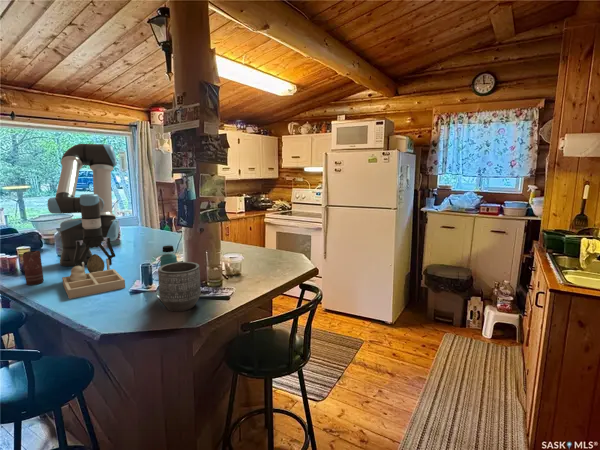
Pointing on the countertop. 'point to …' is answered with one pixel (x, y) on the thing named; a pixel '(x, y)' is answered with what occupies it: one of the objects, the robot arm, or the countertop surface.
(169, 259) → the beverage bottle
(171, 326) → the countertop surface
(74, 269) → the beige stacked dome figurine
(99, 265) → the decorative egg
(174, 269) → the planter
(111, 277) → the wooden compartment tray
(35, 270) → the can
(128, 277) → the countertop surface
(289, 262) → the countertop surface
